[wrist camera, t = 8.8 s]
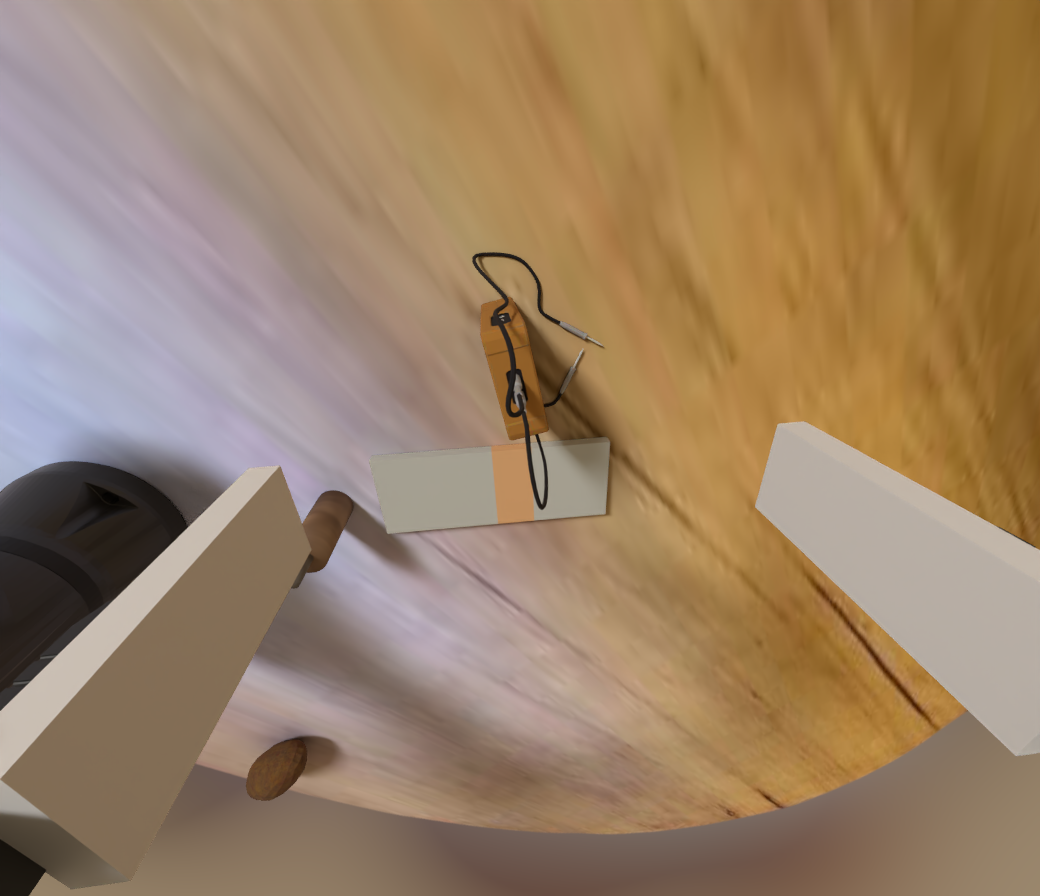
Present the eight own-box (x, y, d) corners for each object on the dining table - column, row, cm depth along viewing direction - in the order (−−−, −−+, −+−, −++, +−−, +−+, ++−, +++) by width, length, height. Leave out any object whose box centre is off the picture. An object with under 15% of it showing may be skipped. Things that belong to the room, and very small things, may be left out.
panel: (389, 526, 44) (387, 533, 43) (372, 455, 40) (369, 461, 39) (602, 507, 45) (605, 514, 44) (606, 436, 41) (610, 441, 40)
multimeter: (609, 391, 39) (713, 514, 21) (510, 416, 39) (532, 557, 22) (586, 224, 32) (711, 202, 15) (467, 256, 33) (449, 272, 15)
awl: (322, 519, 43) (276, 600, 33) (313, 492, 41) (261, 568, 32) (356, 516, 43) (320, 596, 34) (348, 489, 42) (307, 564, 32)
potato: (248, 756, 62) (223, 813, 56) (280, 718, 58) (256, 775, 52) (291, 767, 64) (271, 822, 58) (324, 731, 61) (306, 786, 54)
